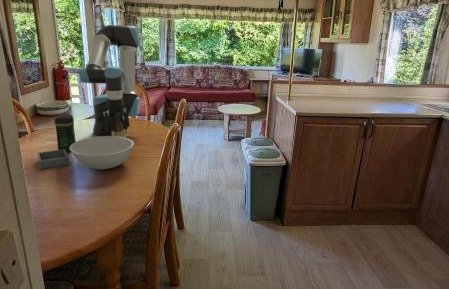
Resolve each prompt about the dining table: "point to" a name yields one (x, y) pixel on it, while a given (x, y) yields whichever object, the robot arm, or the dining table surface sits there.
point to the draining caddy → (53, 159)
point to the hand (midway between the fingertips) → (118, 141)
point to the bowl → (102, 151)
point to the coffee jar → (65, 131)
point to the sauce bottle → (118, 126)
